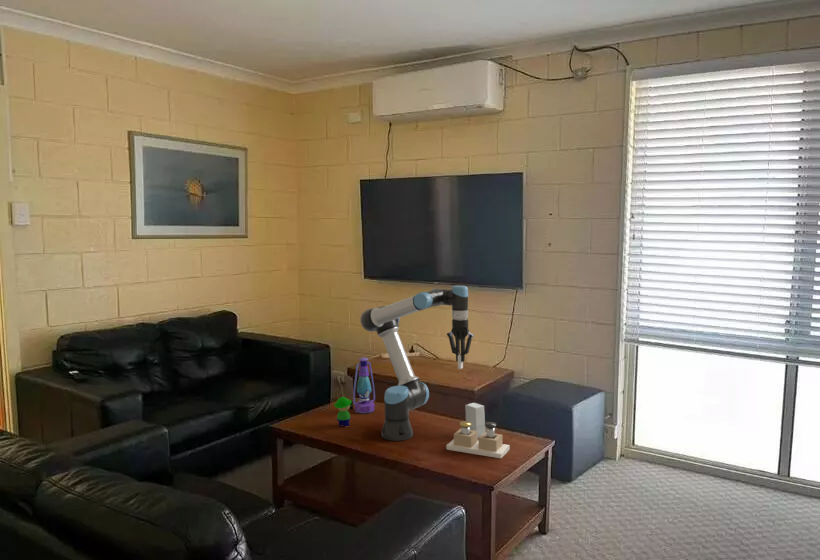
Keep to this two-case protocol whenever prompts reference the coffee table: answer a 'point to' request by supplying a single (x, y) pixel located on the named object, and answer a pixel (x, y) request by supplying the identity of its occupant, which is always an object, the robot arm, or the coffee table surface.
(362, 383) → the lantern
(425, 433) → the coffee table surface
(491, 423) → the plug black
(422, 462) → the coffee table surface
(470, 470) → the coffee table surface
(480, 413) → the skincare box
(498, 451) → the socket board
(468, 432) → the plug brass
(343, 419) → the toy
